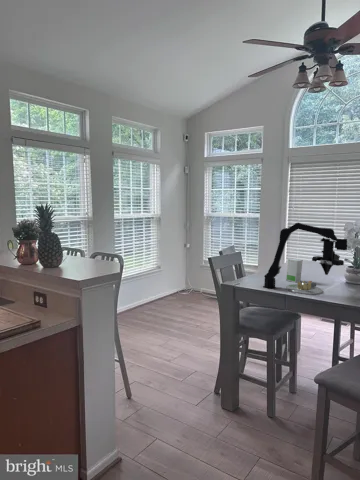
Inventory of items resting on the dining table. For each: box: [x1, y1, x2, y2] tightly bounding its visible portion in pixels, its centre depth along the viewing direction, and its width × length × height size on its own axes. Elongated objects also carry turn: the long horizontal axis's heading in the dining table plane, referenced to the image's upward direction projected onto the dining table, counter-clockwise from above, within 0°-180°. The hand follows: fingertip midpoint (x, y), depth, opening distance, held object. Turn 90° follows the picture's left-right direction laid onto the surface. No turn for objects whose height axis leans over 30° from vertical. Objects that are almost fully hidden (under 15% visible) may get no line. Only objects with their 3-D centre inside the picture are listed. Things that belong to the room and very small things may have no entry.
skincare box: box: [285, 258, 303, 283], centre depth 250 cm, size 8×7×16 cm
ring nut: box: [296, 280, 317, 290], centre depth 226 cm, size 15×8×4 cm, turn 123°
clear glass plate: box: [285, 280, 323, 295], centre depth 224 cm, size 22×22×4 cm
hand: (326, 274), depth 214 cm, fingers closed
